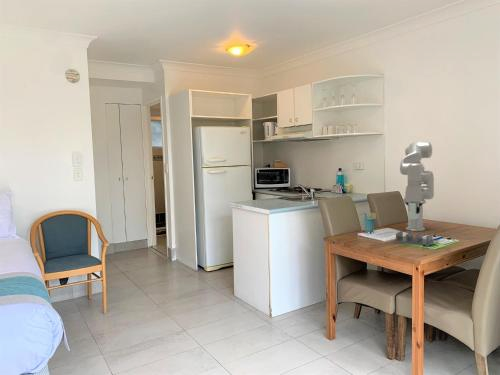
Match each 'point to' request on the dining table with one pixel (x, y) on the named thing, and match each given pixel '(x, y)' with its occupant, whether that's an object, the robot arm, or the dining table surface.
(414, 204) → the pale green rectangular prism
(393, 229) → the dining table surface
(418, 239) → the rack
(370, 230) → the cup
